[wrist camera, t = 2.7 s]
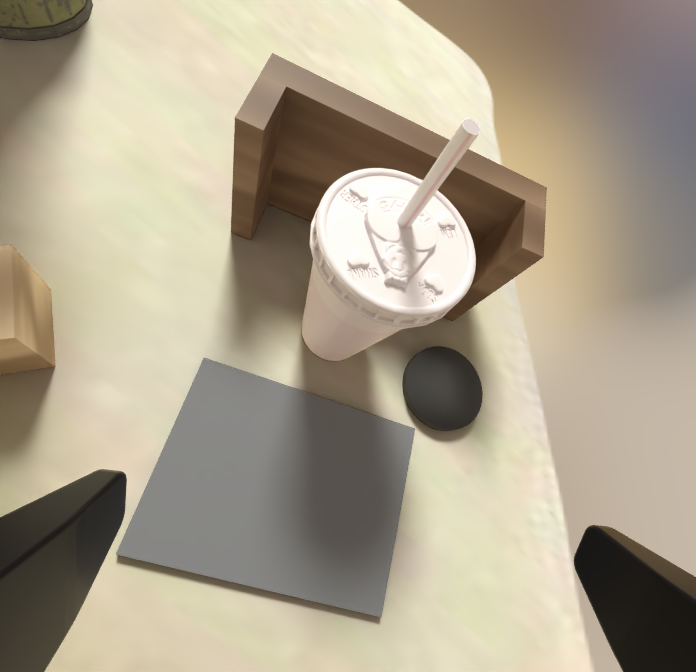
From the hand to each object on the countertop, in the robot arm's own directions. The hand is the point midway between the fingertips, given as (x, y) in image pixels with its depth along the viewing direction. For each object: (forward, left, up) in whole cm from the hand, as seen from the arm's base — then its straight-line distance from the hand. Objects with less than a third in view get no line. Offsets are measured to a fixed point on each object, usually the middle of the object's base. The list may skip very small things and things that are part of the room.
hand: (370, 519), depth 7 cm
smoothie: (+9, -2, -13) cm, 16 cm away
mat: (+1, 0, -13) cm, 13 cm away
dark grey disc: (+7, -9, -13) cm, 17 cm away
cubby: (+15, -3, -13) cm, 20 cm away
